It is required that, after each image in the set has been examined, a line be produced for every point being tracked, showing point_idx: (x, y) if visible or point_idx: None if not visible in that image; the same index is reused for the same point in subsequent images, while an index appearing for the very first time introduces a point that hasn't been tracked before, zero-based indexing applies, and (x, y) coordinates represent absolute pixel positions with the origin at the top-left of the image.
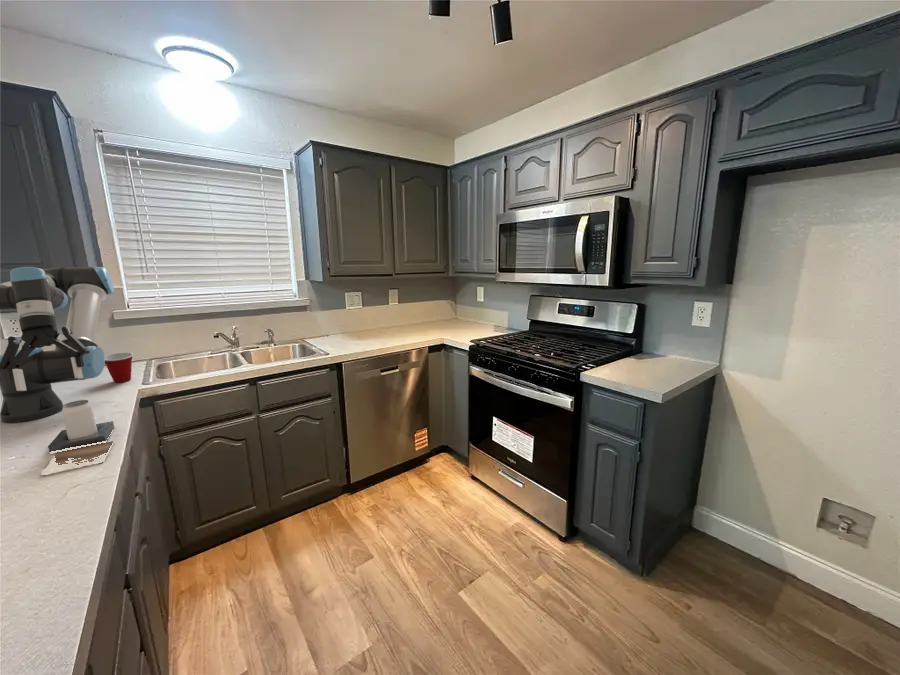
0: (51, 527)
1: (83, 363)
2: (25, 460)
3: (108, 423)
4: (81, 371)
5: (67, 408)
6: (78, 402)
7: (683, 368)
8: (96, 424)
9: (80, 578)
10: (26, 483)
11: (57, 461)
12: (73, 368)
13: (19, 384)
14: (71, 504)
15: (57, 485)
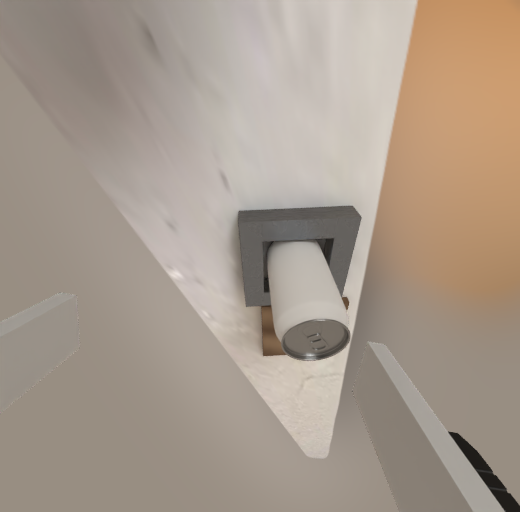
0: (301, 413)
1: (486, 470)
2: (211, 296)
3: (349, 231)
4: (408, 383)
5: (296, 354)
6: (319, 324)
7: None
8: (321, 223)
9: (326, 441)
10: (251, 358)
11: (274, 336)
12: (382, 460)
13: (47, 368)
14: (310, 398)
15: (289, 371)
